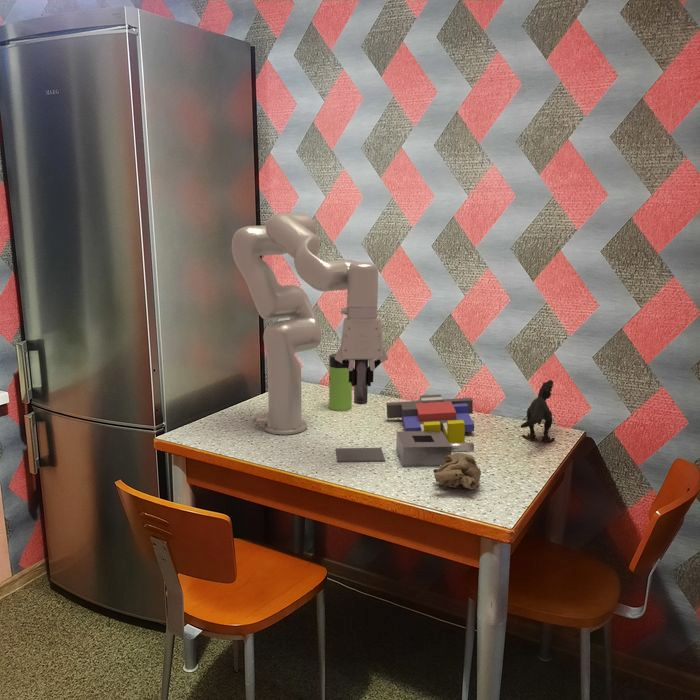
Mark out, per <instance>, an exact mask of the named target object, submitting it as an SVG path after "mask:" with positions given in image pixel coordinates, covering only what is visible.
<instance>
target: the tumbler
mask: <svg viewBox="0 0 700 700" xmlns="http://www.w3.org/2000/svg"><path fill="white" fill-rule="evenodd" d="M335 355H336V353H332V354H329V356H328V357H329V358H328V381H329V382H328V384H329V386H328V391H329V392H328V397H329V399H328V400H329V401H328V402H329V403H328V407H329V409H330V410H331V411H336V410H337V412H344V411H343V410H345V411H349V410H351V409H352V406H353V405H352V404H353V401H352V398H353V395H352V393H353V392H352V391H353V389H352V388H353V386H352V385H351V382H349V370H348V369H347V368H346V367H345V366H344V365H343V364H342V363H340V362H339V361H337V360H335ZM341 357H343V356H341ZM344 359H345V358H344ZM346 360H347V361H348V360H349V359H346Z"/></svg>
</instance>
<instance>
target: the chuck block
mask: <svg viewBox="0 0 700 700" xmlns="http://www.w3.org/2000/svg"><path fill="white" fill-rule="evenodd" d="M395 445H396V447H395V448H396V449H395V450H396V452H397V455H398V457H399V461H400V463H401V466H402V467H407V468H408V467H440V465H441V464H442V462H443V461H444V459H445V457H446V456H448V455H451V454H452V453H474V452H475V445H474V442H465V443H449V442H448V440H447V439H446V437H445V435H444V432H443V430H441V431H405V430H404V431H401V430H400V431H396V444H395ZM438 465H439V466H438Z"/></svg>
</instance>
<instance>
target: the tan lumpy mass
mask: <svg viewBox="0 0 700 700" xmlns="http://www.w3.org/2000/svg"><path fill="white" fill-rule="evenodd" d="M433 473H434V474H433V476H434V479H435V482H437V483H438V485H440V486H443V485H444V486H445V487H446V488H454V489H457V488H466V489H469V490H473V489H474V490H475V489H476V487H477V486H478V484H479V483H480V480H481V476H482V471H481V467H478V464H477V462H476V460H475V459H474V458H473V456H471V455H470V454H467V453H463V452H454V453H451V455H448V456H446V457H445V459H444V461H443V462H442V464H441V466H438V468H434V469H433Z"/></svg>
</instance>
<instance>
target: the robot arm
mask: <svg viewBox="0 0 700 700" xmlns="http://www.w3.org/2000/svg"><path fill="white" fill-rule="evenodd" d="M320 248H321V241H320V238H319V237H318V236H317V226H316V223H315V221H314V219H313V218H312V217H311V216H309V215H307V214H306V213H305V214H304V213H301V212H300V213H298V212H297V213H294V212H293V213H292V212H291V213H290V212H288V213H286V212H283V213H282V212H281V213H276V214H273V215H271V216H270V217H269V218H268V220H267V221H266V223H265V225H247V226H243V227H241V228H239V229H237V230H236V231H235V232H234V234H233V236H232V239H231V253H232V258H233V261H234V263H235V265H236V266H237V269H238V271H239V272H240V274H241V275H242V277H243V278H244V280H245V283H246V285H247V287H248V290H249V293H250V296H251V298H252V301H253V302H254V303H253V304H254V306H255V308H256V311H257V313H258V314H259V316H260V317H261V318H262V319H263V320H267V321H269V320H271V321H272V320H273V321H274V320H277V321H274V322H272V323H269V324H268V325H267V327H266V328H265V329H264V331H263V336H262V339H263V345H264V349H265V354H266V361H267V362H266V363H267V364H266V365H267V392H268V393H267V394H268V397H267V398H268V410H267V413H266V412H265V413H264V414H259V413H258V414H255V413H254V414H253V417H252V419H253V422H256V423H257V424H259V423H263V430H264V431H265V432H266V433H269V434H273V435H282V436H283V435H284V436H285V435H294V434H299V433H302V432H304V431H305V430H307V429H308V423H307V422H306V420H303V419H302V418H303V417H302V416H303V414H302V411H303V409H302V368H301V365H300V362H299V360H298V359H297V357H296V356H295V355H296V353H300V352H306V351H310V350H313V349H316V348H317V347H319V345H320V344H321V342H322V336H323V335H322V329H321V326H320V323H319V321H318V317H317V316H316V313H315V311H314V308H313V305H312V304H311V301H310V299H309V296H308V294H307V292H306V291H304V289H303V288H301V287H300V286H298V285H293V284H289V285H288V284H287V285H282V284H280V283H279V282H278V279H277V276H276V275H275V272H274V270H273V269H272V267H271V266H270V265H269V264H268V263H267V262H266V261H265V260H263V258H261V257H260V256H280V255H285V254H288V255H289V256H290V257H291V258H293V262H294V263H293V265H294V267H295V271H296V273H297V275H298V276H299V278H300V279H301V280H303V281H304V282H305V283H306V284H307V285H309V286H310V287H311V288H313V289H315V290H316V291H319V292H333V291H346V306H345V307H344V308H343V307H342V308H341V309H340V314H341V315H342V314H343V315H345V316H346V317H344V318H343V323H342V329H341V330H342V331H341V343H340V347H339V348H338V350H337V352H336V353H335V354H336V355H335V360H337V361H339V362H340V363H342V364H343V365H344V366H345V367H346V368H347V369H348V370H349V382H351V385H352V387H354V386H355V370H354V366H355V360H368V387H372V383H374V371H375V369H377V367H379V366H380V365H381V364H382V363H384V362H385V361H387V360H389V357H388V355H387V353H386V350H384V348H383V329H382V328H383V327H382V321H381V318H379V317H378V303H379V302H378V299H379V297H378V296H379V295H378V294H379V293H378V289H379V267H378V265H377V264H376V263H372V262H360V261H357V260H353V259H336V260H335V259H331V260H322V259H320V258H318V257H317V255H318V254H319V251H320ZM283 319H284V320H283ZM341 356H343V357H341ZM344 358H345V359H344ZM346 359H349V360H348V361H347V360H346Z"/></svg>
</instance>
